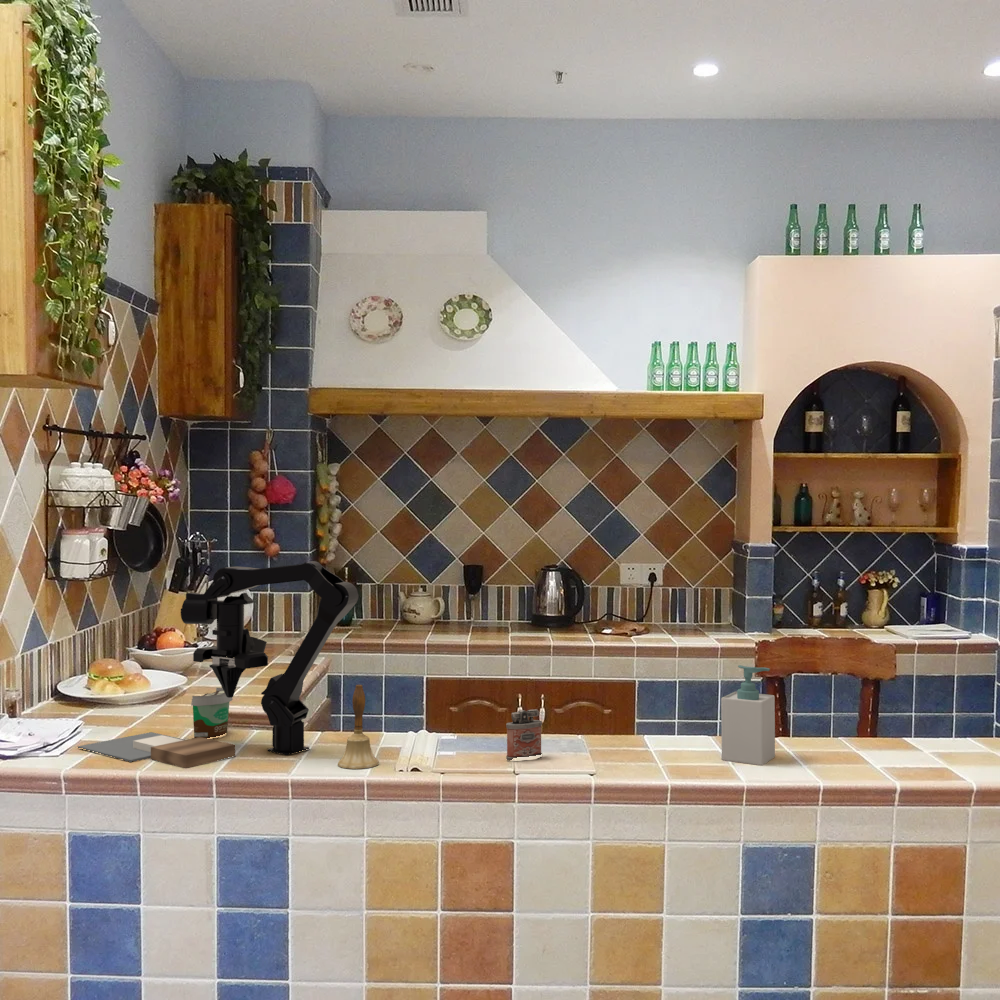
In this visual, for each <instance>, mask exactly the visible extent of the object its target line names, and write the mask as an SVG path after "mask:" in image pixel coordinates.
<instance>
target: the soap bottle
mask: <svg viewBox="0 0 1000 1000" xmlns="http://www.w3.org/2000/svg"><path fill="white" fill-rule="evenodd" d="M737 667H738V668H740V669H743V678H744V681H743V682H741V683H740V688H738V689H737V690H736V691H733V692H731V693H729V694H727V695H725V696H722V697H721V699H720V700H721V702H720V706H721V707H720V708H721V718H720V719H721V761H727V762H733V763H741V764H749V765H756V766H764V765H765V764H767V763H768V762H769V761H771V760H773V759H774V758H776V732H775V731H776V729H775V728H776V727H775V726H776V722H775V721H776V720H775V719H776V718H775V717H776V716H775V715H776V713H775V710H776V709H775V705H776V701H775V699H776V698H775V695H773V694H767V693H766V694H765V693H760V691H759V689H757V688H756V683H754V682H752V678H753V674H754V673H760V672H770V670H771V668H769V667H757V666H745V665H738V666H737Z"/></svg>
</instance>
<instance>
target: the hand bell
mask: <svg viewBox="0 0 1000 1000" xmlns="http://www.w3.org/2000/svg"><path fill="white" fill-rule="evenodd" d="M351 702H352V710H353V714H354V727H353V734H352V735H350V736H349V737H347V738H346V739H347V740H346V746H345V751H344V753H343V756H342V757H341V759H340V760H338V762H337V766H338V767H339V768H343V769H351V770H356V769H357V770H362V769H370V768H374V767H376V766H379V764H380V762H379V760H378V758H377V757H376V756H375V755H374V754H373V751H372V748H371V743H370V741H371V740H370V737H369V736H368V735H366V734H364V733H363V726H364V725H363V717H364V711H365V706H366V694H365V691H364V688H363V684H356V685H355V688H354V691H353V694H352V701H351Z"/></svg>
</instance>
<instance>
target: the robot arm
mask: <svg viewBox="0 0 1000 1000" xmlns="http://www.w3.org/2000/svg"><path fill="white" fill-rule="evenodd" d="M301 581H305V582H306V583H307V584H308V586H310V588H311V589H312V591H314V593H315V594H316V595H317V596H319V597H320V600H319V604H318V606H317V607H318V608H317V614H316V618H315V620H314V621H313V623H312V624H311V626H310V628H309V630H308V632H307V634H306V636H305V637H304V639H303V641H302V642H301V644H300V645H299V647H298V649H297V651H296V652H295V654H294V656H293V658H292V659H291V661H290V663H289V665H288V666H287V667H286V669H285V671H284V673H280V674H277V675H275V676H272V677H270V679H269V680H268V683H267V686H266V688H265V689H264V690H263V691H262V692H261V695H263V696H262V698H261V701H260V705H261V707H262V710H263V712H264V713H265V714H266V716H267V719H268V722H269V724H270V726H273V727H272V736H271V737H272V745H271V746H272V747H269V748H267V752H270V751H271V753H274V752H275V753H276V754H279V753H280V754H279V755H283V754H285V755H284V756H289V755H288V754H290V755H293V754H292V753H294V754H297V753H296V752H298V753H300V752H299V751H302V750H306V749H309V750H310V747H309V746H305V722H304V721H303V720H304V719H305V720H306V719H307V716H308V714H309V708H308V706H307V705H305V704H304V702H303V701H302V700H301V699H300V698H301V695H302V692H303V686H304V681H305V679H306V678H307V675H308V674H309V672H310V670H311V668H312V666H313V665H314V664H315V661H316V660H317V658H318V656H319V654H320V653H321V651H322V649H323V647H324V645H326V642H327V641H328V639H329V637H330V636H331V633H332V632H333V630H334V628H335V627H336V625H337V624H338V623H339V622H341V620H342V619H344V618H345V617H346V615H347V614H348V613H349V612H350V611H351V610H352V609H353V607H355V605H356V604H357V602H358V600H359V597H360V596H359V595H360V594H359V592H358V589H357V587H356V586H355V585H354V584H353V583H352V582H348V581H344V580H343V579H342V578H340V576H338V575H336V574H335V573H333V572H331V571H330V570H328V569H327V568H325V567H324V566H322V564H321V563H320V562H318V561H315V560H314V561H313V560H312V561H306V562H303V563H298V564H290V565H280V566H271V567H263V568H262V567H261V568H259V567H250V566H228V567H220V568H218V569H217V570H216V571H215V572H214V575H213V578H212V582H211V583H210V585H209V586H208V588H207V589H206V590H205V592H204V593H198V592H187V593H186V594H185V599H184V600H183V602H182V606H181V608H180V619H181V622H183V623H184V624H186V625H212V624H213V623H215V621H216V629H212V636H214V635H215V636H216V646H215V645H214V646H205V647H198V648H197V647H196V648H195V650H194V651H193V654H192V655H193V657H192V659H193V662H195V663H203V662H204V661H207V660H211V661H212V664H209V665H208V666H209V668H211V670H212V671H213V673H214V674H215V676H216V678H217V680H218V682H219V684H220V686H221V688H223V690H224V692H225V694H226V696H227V697H229V698H231V697H232V698H233V697H234V694H235V693H236V689H237V686H238V684H239V680H240V678H241V676H242V674H243V672H244V671H246V669H253V668H254V669H255V668H261V667H267V666H269V656H268V655H267V654H266V652H265V650H266V645H267V644H268V643H267V641H265V640H263V639H260V638H258V637H255V636H251V634H250V631H249V629H248V628H245V605H246V606H247V605H250V604H254V602H255V600H254V599H253V598H251V597H250V596H249V594H248V593H247V592H244V591H247V590H251V589H253V588H257V587H260V586H265V585H273V584H281V583H291V582H292V583H293V582H301ZM241 592H243V593H241ZM235 593H241V594H239V595H235V596H234V595H232V594H235ZM223 597H225V598H224V599H223V600H219V598H223ZM306 751H307V750H306ZM302 752H303V751H302Z"/></svg>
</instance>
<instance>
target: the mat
mask: <svg viewBox="0 0 1000 1000" xmlns="http://www.w3.org/2000/svg"><path fill="white" fill-rule="evenodd" d="M160 735H163V736H168V737H172V738H177V739H181V740H186V739H184V738H180V737H176V736H171V735H167V734H162V733H157V732H152V731H150V732H145V733H139V734H134V735H130V736H129V735H128V736H124V737H119V738H113V739H109V740H104V741H99V742H93V743H88V744H82V745H77V747H78V748H83V749H86V750H90V751H94V752H98V753H101V754H104V755H108V756H112V757H115V758H119V759H123V760H125V761H124V762H127V761H129V762H128V763H133V762H132V761H135V762H138V761H137V760H139V761H143V760H142V759H144V760H148V759H151V752H148V751H144V750H140V749H136V748H133V741H135V740H140V739H145V738H150V737H155V736H160ZM104 755H103V756H104ZM108 756H107V757H108ZM112 757H111V758H112ZM115 758H114V759H115ZM147 758H148V759H147ZM119 759H118V760H119ZM123 760H122V761H123Z"/></svg>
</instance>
